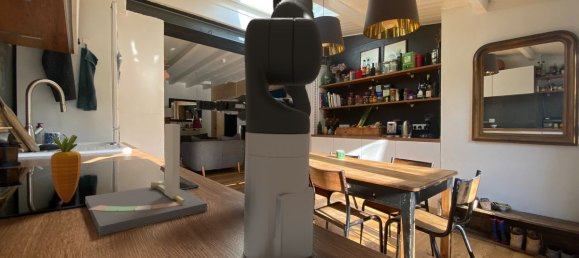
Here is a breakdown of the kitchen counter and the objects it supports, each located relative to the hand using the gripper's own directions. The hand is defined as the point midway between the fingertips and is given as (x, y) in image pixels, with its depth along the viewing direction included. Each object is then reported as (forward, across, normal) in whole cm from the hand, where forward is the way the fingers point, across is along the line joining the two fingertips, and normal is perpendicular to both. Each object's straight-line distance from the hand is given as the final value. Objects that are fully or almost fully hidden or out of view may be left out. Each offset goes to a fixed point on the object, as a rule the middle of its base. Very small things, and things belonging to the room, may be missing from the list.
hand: (197, 105), depth 61 cm
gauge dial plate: (+12, 0, +22) cm, 25 cm away
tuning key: (+7, -1, +21) cm, 22 cm away
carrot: (+24, -13, +23) cm, 35 cm away
